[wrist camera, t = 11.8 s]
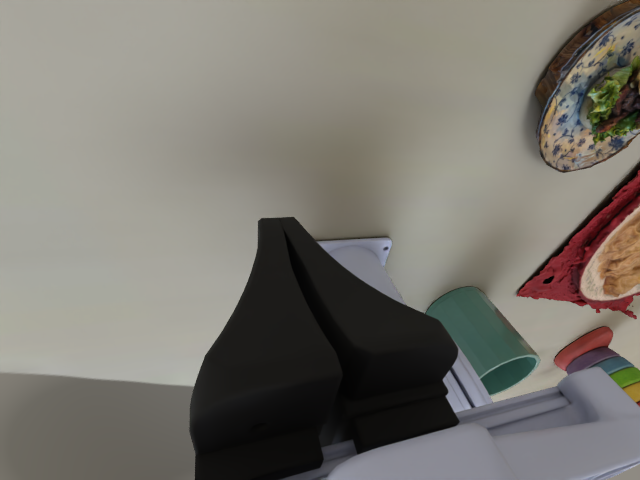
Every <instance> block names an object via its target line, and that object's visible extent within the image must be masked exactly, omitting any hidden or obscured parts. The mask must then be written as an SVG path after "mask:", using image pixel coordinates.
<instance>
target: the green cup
mask: <svg viewBox="0 0 640 480" xmlns="http://www.w3.org/2000/svg"><path fill="white" fill-rule="evenodd" d="M426 314H427V315H429V316H431V317H434V318H436V319H438V320H439V321H440V322H441V323H442V324H443V326H444V327H445V329H446V330H447V331H448V333H449V334H450V336H451V338H452V339H453V340H454V341H455V343H456V344H457V345H458V346H459V348H460V349H461V351H462V352H463V354H464V355H465V356H466V358H467V359H468V361H469V362H470V364H471V366H472V367H473V369H474V370H475V372H476V373H477V375H478V377H479V378H480V380H481V382H482V383H483V385H484V387H485V388H486V390H487V392H488V394H489V395H490V396H493V395H496V394H498V393H501V392H503V391H506V390H508V389H509V388H511V387H513V386H515V385H517V384H518V383H520V382H521V381H523V380H524V379H525V378H527V377H528V376H529V375H531V373H532V372H533V371H534V370H535V369H536V368H537V367H538V365H539V363H540V361H541V360H540V358H539V356H538V355H537V354H536V352H535V351H534V350H533V349H532V348H531V347H530V346H529V344H528V343H527V342H526V341H525V340H524V339H523V338H522V336H521V335H520V334H519V333H518V332H517V331H516V330H515V328H514V327H513V326H512V325H511V324H510V323H509V322H508V320H507V319H506V318H505V317H504V316H503V315H502V314H501V312H500V311H499V310H498V309H497V308H496V307H495V306H494V304H493V303H492V302H491V301H490V300H489V299H488V298H487V296H486V295H485V294H484V293H483V292H482V291H481V290H480V289H478V288H476V287H463V288H459V289H456V290H453V291H451V292H449V293H447V294H445V295H443V296H442V297H440V298H439V299H438V300H437V301H435V302H434V303H433V304H432V305H431V306H430V308H429V309H428V310H427V312H426Z"/></svg>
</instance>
